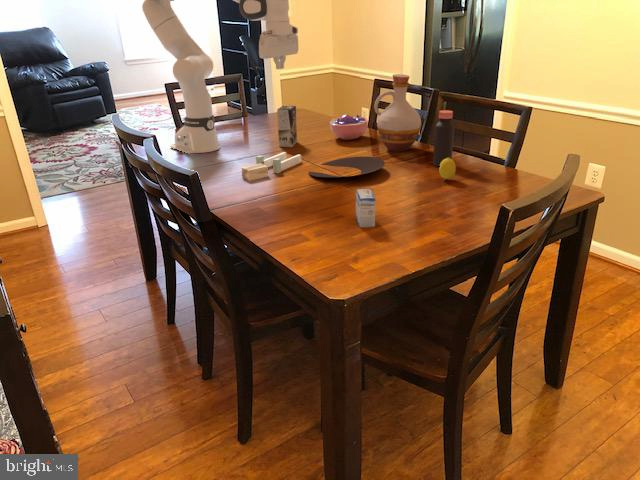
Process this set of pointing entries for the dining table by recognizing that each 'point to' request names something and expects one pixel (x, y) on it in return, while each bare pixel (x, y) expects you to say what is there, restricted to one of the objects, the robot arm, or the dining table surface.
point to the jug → (398, 118)
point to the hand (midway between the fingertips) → (280, 68)
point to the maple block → (254, 171)
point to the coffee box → (287, 126)
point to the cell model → (349, 126)
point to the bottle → (443, 137)
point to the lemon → (447, 168)
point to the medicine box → (365, 208)
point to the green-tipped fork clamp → (279, 161)
